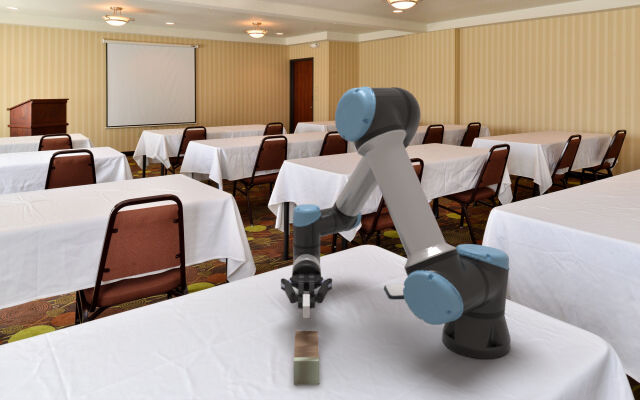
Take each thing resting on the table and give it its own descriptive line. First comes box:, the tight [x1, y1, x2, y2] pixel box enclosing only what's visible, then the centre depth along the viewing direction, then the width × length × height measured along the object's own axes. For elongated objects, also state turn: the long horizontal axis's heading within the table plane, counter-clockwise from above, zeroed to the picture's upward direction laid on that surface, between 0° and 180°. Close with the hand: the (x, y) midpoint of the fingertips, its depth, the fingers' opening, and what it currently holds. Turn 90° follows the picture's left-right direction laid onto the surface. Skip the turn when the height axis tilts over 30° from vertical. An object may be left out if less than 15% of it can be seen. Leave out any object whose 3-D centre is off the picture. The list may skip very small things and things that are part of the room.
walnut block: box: [293, 330, 320, 385], centre depth 105 cm, size 5×5×13 cm
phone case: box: [383, 283, 405, 300], centre depth 145 cm, size 9×2×16 cm
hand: (306, 312), depth 107 cm, fingers closed
